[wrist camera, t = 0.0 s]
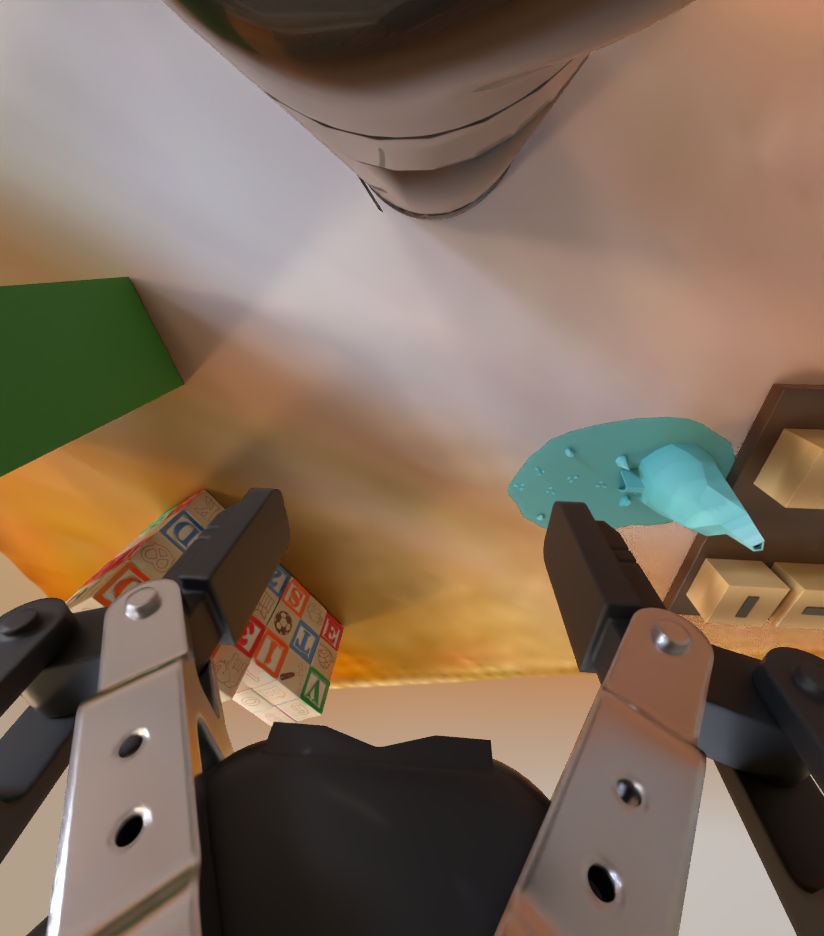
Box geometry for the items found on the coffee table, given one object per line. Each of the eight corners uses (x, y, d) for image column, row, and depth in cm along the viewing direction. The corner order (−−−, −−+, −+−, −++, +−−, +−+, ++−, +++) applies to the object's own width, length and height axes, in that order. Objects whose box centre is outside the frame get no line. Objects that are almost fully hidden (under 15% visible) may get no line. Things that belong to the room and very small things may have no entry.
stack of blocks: (346, 626, 41) (312, 756, 31) (304, 641, 43) (258, 768, 33) (203, 486, 33) (87, 598, 22) (159, 513, 35) (34, 627, 24)
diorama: (481, 423, 28) (495, 484, 21) (777, 386, 25) (916, 442, 18) (492, 543, 34) (505, 624, 27) (732, 525, 31) (822, 610, 24)
